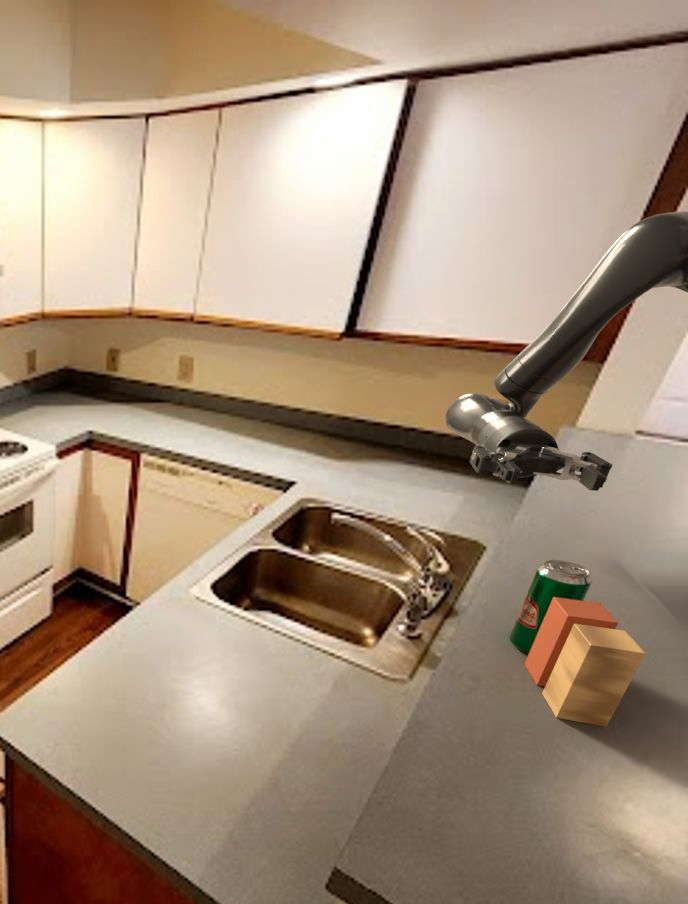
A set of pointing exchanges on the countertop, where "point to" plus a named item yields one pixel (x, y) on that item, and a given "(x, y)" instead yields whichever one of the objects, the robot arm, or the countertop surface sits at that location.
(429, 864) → the countertop surface
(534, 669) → the terracotta block
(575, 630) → the maple block
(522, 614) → the soda can
